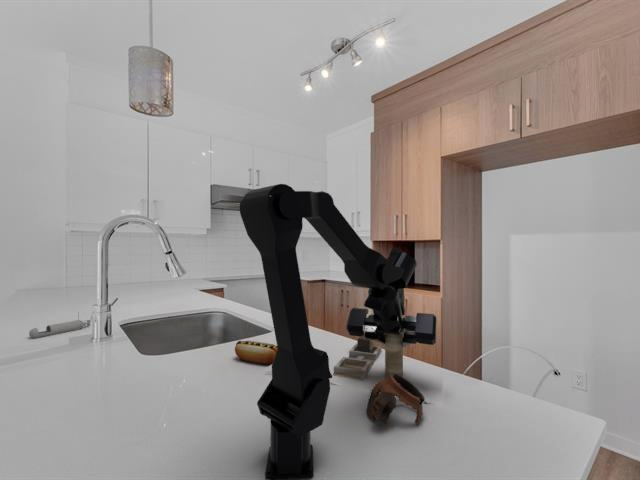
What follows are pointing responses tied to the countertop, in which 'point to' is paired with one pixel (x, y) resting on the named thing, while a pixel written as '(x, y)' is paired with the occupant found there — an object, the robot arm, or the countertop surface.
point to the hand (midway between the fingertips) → (394, 344)
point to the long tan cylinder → (363, 342)
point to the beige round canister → (393, 354)
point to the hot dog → (256, 351)
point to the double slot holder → (356, 363)
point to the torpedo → (59, 328)
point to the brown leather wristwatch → (393, 398)
